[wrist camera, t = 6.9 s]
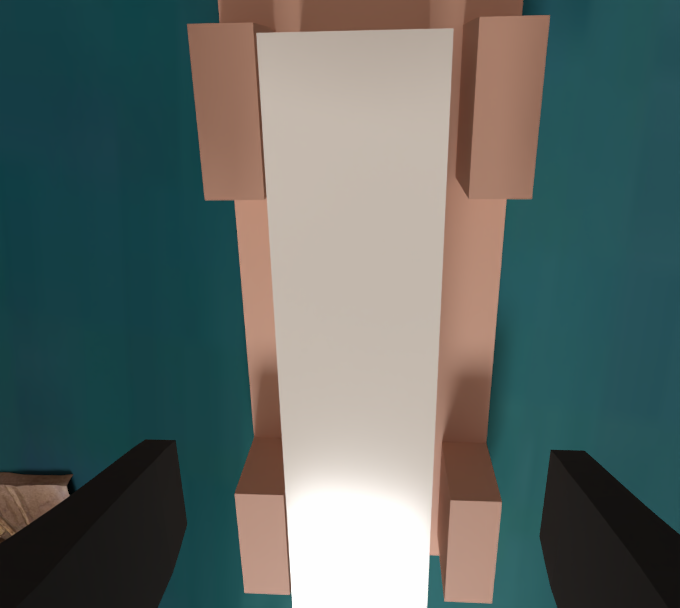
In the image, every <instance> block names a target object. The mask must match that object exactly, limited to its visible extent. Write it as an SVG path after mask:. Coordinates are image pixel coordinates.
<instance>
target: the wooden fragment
mask: <svg viewBox="0 0 680 608" xmlns="http://www.w3.org/2000/svg"><path fill="white" fill-rule="evenodd" d="M71 477H72V475H23V474H15V473H4V472H2V473H0V543H1V542H3V541H5V540H6V539H8V538H9V537H11V536H12V535H14V534H15V533H17V532H18V531H20V530H21V529H23V528H24V527H26V526H27V525H29V524H30V523H31V522H33V521H34V520H36V519H37V518H39V517H40V516H42V515H43V514H45V513H46V512H47V511H49V510H50V509H52V508H53V507H55V506H56V505H58V504H59V503H61V502H62V501H63V500H65V499H66V498H67V497H69V496H70V495H69V493H68V489H67V484H68V482H69V480H70V479H71Z"/></svg>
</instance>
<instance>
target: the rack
mask: <svg viewBox="0 0 680 608" xmlns="http://www.w3.org/2000/svg"><path fill="white" fill-rule="evenodd" d="M218 7H219V19H220V23H208V24H187V28H188V38H189V48H190V58H191V67H192V77H193V87H194V97H195V107H196V117H197V127H198V137H199V147H200V156H201V166H202V176H203V186H204V196H205V200H235V212H236V224H237V236H238V248H239V260H240V272H241V284H242V296H243V308H244V320H245V332H246V344H247V356H248V368H249V380H250V392H251V404H252V416H253V428H254V439H253V442H252V445H251V448H250V451H249V454H248V457H247V460H246V462H245V465H244V468H243V471H242V474H241V477H240V480H239V483H238V486H237V488H236V491H235V503H236V512H237V522H238V532H239V542H240V552H241V562H242V572H243V582H244V592H245V593H258V594H282V595H290V592H291V574H290V558H289V542H288V526H287V510H286V495H285V479H284V463H283V447H282V432H281V416H280V400H279V384H278V368H277V353H276V337H275V321H274V305H273V290H272V274H271V258H270V242H269V226H268V211H267V195H266V179H265V163H264V148H263V132H262V116H261V100H260V84H259V69H258V53H257V37H256V33H273V32H316V31H358V30H401V29H443V28H454V32H453V53H452V75H451V97H450V118H449V140H448V162H447V184H446V205H445V227H444V249H443V270H442V292H441V314H440V336H439V357H438V379H437V401H436V422H435V444H434V466H433V488H432V509H431V531H430V553H429V555H439V556H440V566H441V575H442V584H443V593H444V601H448V602H472V603H492V597H493V587H494V577H495V567H496V557H497V547H498V537H499V526H500V516H501V506H502V500H501V497H500V493H499V489H498V485H497V482H496V478H495V474H494V470H493V467H492V463H491V459H490V455H489V451H488V448H487V444H486V439H487V427H488V415H489V403H490V391H491V379H492V367H493V355H494V343H495V331H496V319H497V307H498V295H499V283H500V271H501V259H502V247H503V235H504V223H505V211H506V199H532V192H533V182H534V172H535V162H536V152H537V142H538V132H539V122H540V112H541V101H542V91H543V81H544V71H545V61H546V51H547V41H548V31H549V20H550V15H533V16H522V7H523V0H218Z"/></svg>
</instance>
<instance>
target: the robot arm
mask: <svg viewBox="0 0 680 608" xmlns="http://www.w3.org/2000/svg"><path fill="white" fill-rule="evenodd" d="M186 526H187V519H186V512H185V505H184V498H183V490H182V483H181V476H180V469H179V462H178V455H177V447H176V440H144V441H143V442H141V443H140V444H138V445H137V446H135V447H134V448H133V449H131V450H130V451H128V452H127V453H126V454H124V455H123V456H122V457H120V458H119V459H118V460H117V461H115V462H114V463H113V464H111V465H110V466H109V467H107V468H106V469H105V470H103V471H102V472H101V473H100V474H98V475H97V476H96V477H94V478H93V479H92V480H90V481H89V482H88V483H86V484H85V485H84V486H82V487H81V488H80V489H78V490H77V491H76V492H74V493H73V494H71V495H70V496H69V497H67V498H66V499H65V500H63V501H62V502H61V503H59V504H58V505H56V506H55V507H53V508H52V509H50V510H49V511H47V512H46V513H45V514H43V515H42V516H40V517H39V518H37V519H36V520H34V521H33V522H31V523H30V524H29V525H27V526H26V527H24V528H23V529H21V530H20V531H18V532H17V533H15V534H14V535H12V536H11V537H9V538H8V539H6V540H5V541H3V542H1V543H0V608H158V605H159V603H160V601H161V599H162V596H163V594H164V592H165V589H166V587H167V585H168V582H169V580H170V578H171V575H172V573H173V570H174V567H175V564H176V560H177V557H178V554H179V551H180V547H181V544H182V540H183V537H184V533H185V530H186ZM540 541H541V546H542V550H543V555H544V560H545V565H546V569H547V573H548V578H549V582H550V586H551V590H552V593H553V596H554V599H555V602H556V605H557V607H558V608H680V534H678V533H677V532H676V531H675V530H674V529H672V528H671V527H670V526H669V525H668V524H666V523H665V522H664V521H663V520H662V519H660V518H659V517H658V516H657V515H656V514H655V513H653V512H652V511H651V510H650V509H649V508H648V507H647V506H645V505H644V504H643V503H642V502H641V501H640V500H639V499H638V498H636V497H635V496H634V495H633V494H632V493H631V492H630V491H629V490H627V489H626V488H625V487H624V486H623V485H622V484H621V483H620V482H619V481H618V480H616V479H615V478H614V477H613V476H612V475H611V474H610V473H609V472H608V471H607V470H605V469H604V468H603V467H602V466H601V465H600V464H599V463H598V462H597V461H596V460H594V459H593V458H592V457H591V456H590V455H589V454H587V453H586V452H585V451H573V450H551V452H550V460H549V468H548V475H547V483H546V491H545V498H544V506H543V514H542V522H541V529H540Z"/></svg>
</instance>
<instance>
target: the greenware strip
mask: <svg viewBox="0 0 680 608" xmlns="http://www.w3.org/2000/svg"><path fill="white" fill-rule="evenodd" d="M453 32H454V28H443V29H401V30H358V31H316V32H273V33H256V37H257V53H258V69H259V84H260V100H261V116H262V132H263V148H264V163H265V179H266V195H267V211H268V226H269V242H270V258H271V274H272V290H273V305H274V321H275V337H276V353H277V368H278V384H279V400H280V416H281V432H282V447H283V463H284V479H285V495H286V510H287V526H288V542H289V558H290V574H291V589H292V605H293V608H427V596H428V574H429V553H430V531H431V509H432V488H433V466H434V444H435V422H436V401H437V379H438V357H439V336H440V314H441V292H442V270H443V249H444V227H445V205H446V184H447V162H448V140H449V118H450V97H451V75H452V53H453Z"/></svg>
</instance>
